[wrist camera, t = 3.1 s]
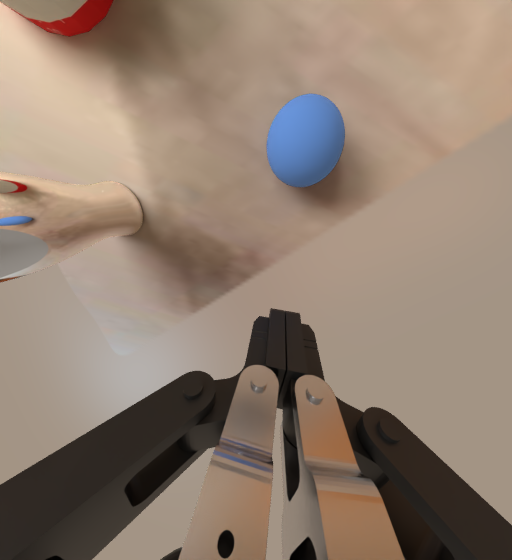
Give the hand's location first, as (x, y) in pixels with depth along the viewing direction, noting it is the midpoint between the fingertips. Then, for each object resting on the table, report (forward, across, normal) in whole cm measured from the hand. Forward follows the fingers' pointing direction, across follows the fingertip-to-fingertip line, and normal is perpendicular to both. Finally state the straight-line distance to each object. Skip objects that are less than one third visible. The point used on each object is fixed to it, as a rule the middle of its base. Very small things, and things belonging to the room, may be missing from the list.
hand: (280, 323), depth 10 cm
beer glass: (+14, +20, -2) cm, 24 cm away
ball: (+11, 0, -10) cm, 14 cm away
